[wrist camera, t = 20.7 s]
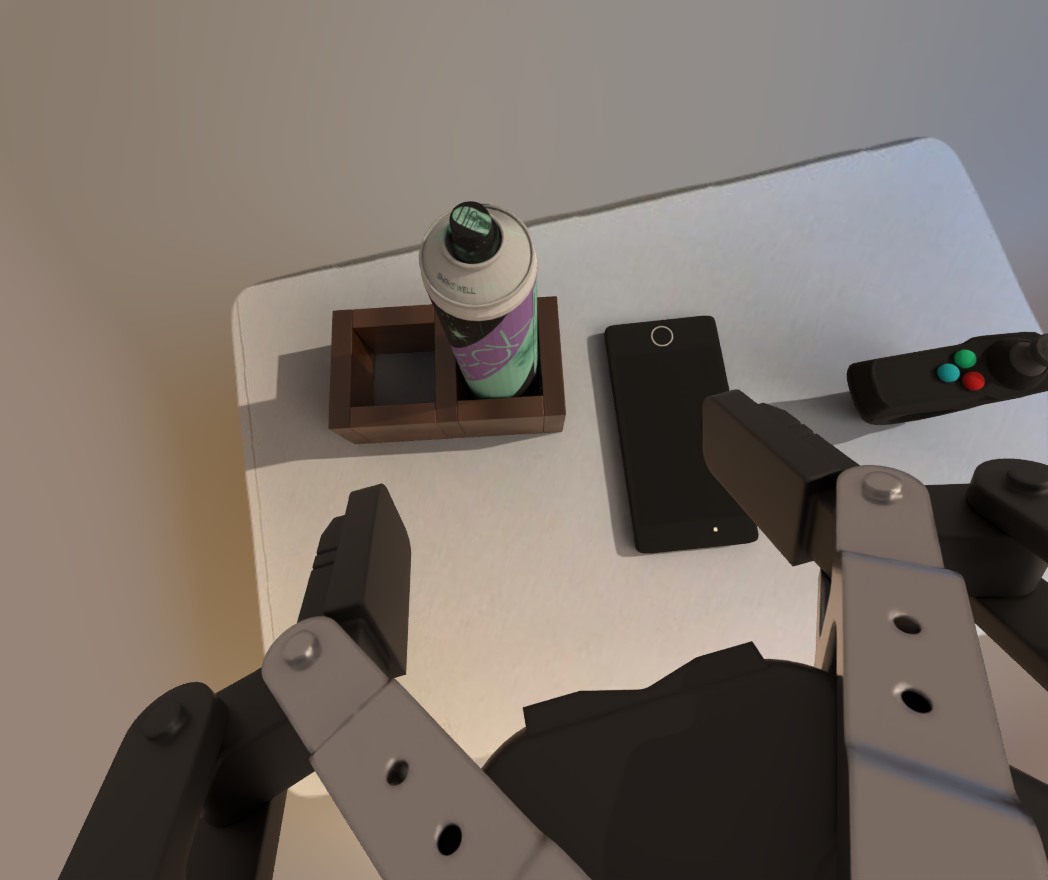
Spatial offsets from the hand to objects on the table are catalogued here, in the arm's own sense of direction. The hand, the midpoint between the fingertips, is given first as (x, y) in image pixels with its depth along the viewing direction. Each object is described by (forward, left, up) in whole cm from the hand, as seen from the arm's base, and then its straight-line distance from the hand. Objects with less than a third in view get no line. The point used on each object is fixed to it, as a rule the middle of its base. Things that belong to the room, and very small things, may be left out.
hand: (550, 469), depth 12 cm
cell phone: (+11, +6, -25) cm, 28 cm away
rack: (-6, +11, -25) cm, 28 cm away
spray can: (-2, +11, -25) cm, 28 cm away
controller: (+27, +7, -25) cm, 38 cm away
